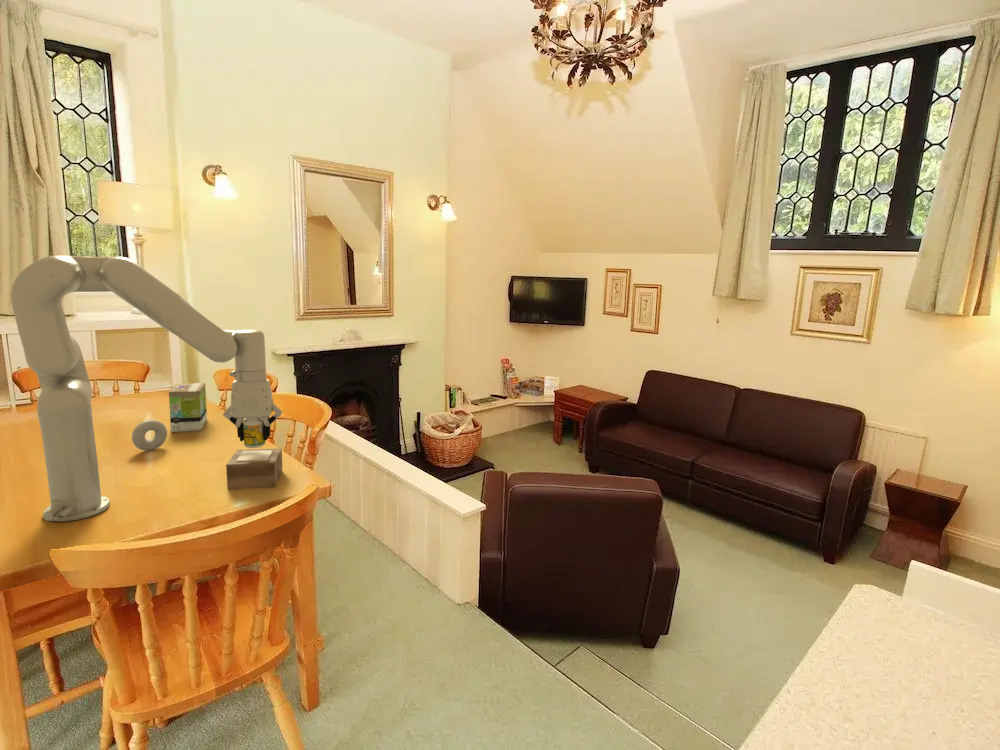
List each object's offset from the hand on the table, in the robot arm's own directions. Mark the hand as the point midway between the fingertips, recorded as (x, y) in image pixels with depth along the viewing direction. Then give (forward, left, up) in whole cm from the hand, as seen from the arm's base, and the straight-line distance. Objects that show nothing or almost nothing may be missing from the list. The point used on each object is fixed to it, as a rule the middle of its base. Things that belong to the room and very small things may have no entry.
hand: (254, 438), depth 151 cm
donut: (+29, +37, -12) cm, 49 cm away
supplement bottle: (0, 0, -2) cm, 2 cm away
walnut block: (0, 0, -12) cm, 12 cm away
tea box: (+56, +34, -12) cm, 67 cm away
